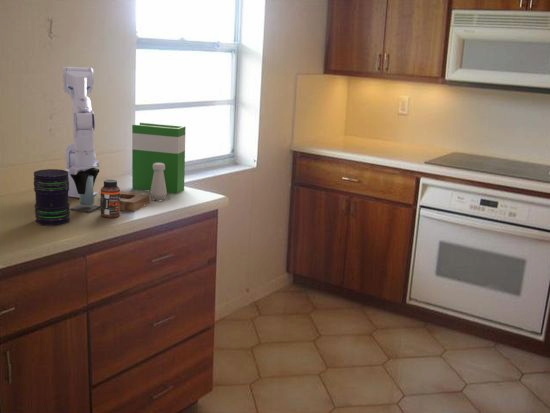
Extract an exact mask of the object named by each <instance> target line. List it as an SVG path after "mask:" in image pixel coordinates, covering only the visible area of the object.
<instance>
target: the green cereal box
mask: <svg viewBox="0 0 550 413" xmlns="http://www.w3.org/2000/svg"><path fill="white" fill-rule="evenodd" d="M131 126H132V127H131V129H132V130H131V133H132V134H131V135H132V136H131V137H132V140H131V141H132V142H131V144H132V145H131V147H132V148H131V149H132V150H131V152H132V155H131V156H132V157H131V159H132V162H131V164H132V165H131V169H132V171H131V175H132V180H131V181H132V183H131V184H132V186H131V187H132V188H131V190H136V191H137V190H138V191H144V190H149V191H148V192H150V191H151V185H152V180H153V175H154V170H153V164H154V163H164V164H165V170H163V172H164V178H165V184H166V191H167V194H172V193H173V194H172V195H178V194H180V193H181V192H183V191H184V190H185V175H186V174H185V173H186V172H185V170H186V169H185V167H186V162H185V161H186V160H185V159H186V126H182V125H174V124H163V123H162V124H161V123H150V122H149V123H148V122H139V124H132V125H131Z"/></svg>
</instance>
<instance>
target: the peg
mask: <svg viewBox="0 0 550 413" xmlns="http://www.w3.org/2000/svg"><path fill="white" fill-rule="evenodd" d="M94 192H95V191H94V187H93V176H92V175H88V178H87V181H86V191H85V194H80V198H79V205H80V204H81V205H94V203H95V202H94V201H95V200H94V197H95V195H94Z"/></svg>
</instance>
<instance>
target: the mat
mask: <svg viewBox="0 0 550 413" xmlns="http://www.w3.org/2000/svg"><path fill="white" fill-rule="evenodd" d="M97 210H101V206H100V205H94V204H92V205H81V204H80V203H79V204H78V205H75V206H73V207H70V212H71V211H72V212H79V213H87V214H90V213H93V212H94V211H97Z"/></svg>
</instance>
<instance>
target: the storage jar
mask: <svg viewBox="0 0 550 413" xmlns="http://www.w3.org/2000/svg"><path fill="white" fill-rule="evenodd" d="M65 170H66V169H65ZM65 170H64V169H56V168H52V169H51V168H49V169H40V170H36V171H33V176H34V177H33V190H34V194H35V195H34V196H35V203H34V214H35V218H36V219H35V223H36V224H37V225H39V226H45V227H49V226H50V227H57V226H62V225H66V224H69V223H70V221H71V220H70V219H71V218H70V213H71V210H70V208H71V205H70V202H69V196H68V191H69V177H68V171H65Z"/></svg>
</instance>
